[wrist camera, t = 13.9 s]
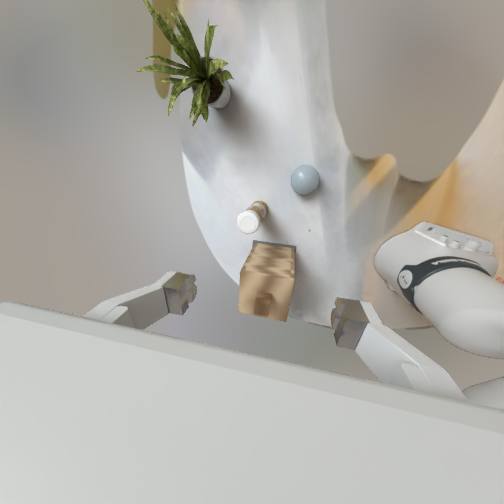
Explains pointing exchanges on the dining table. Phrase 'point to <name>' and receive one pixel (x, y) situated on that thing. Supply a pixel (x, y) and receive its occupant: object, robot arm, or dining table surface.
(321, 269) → the dining table surface
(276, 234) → the dining table surface
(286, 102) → the dining table surface
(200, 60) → the house plant
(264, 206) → the sprinkles bottle
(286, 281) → the oak cover
